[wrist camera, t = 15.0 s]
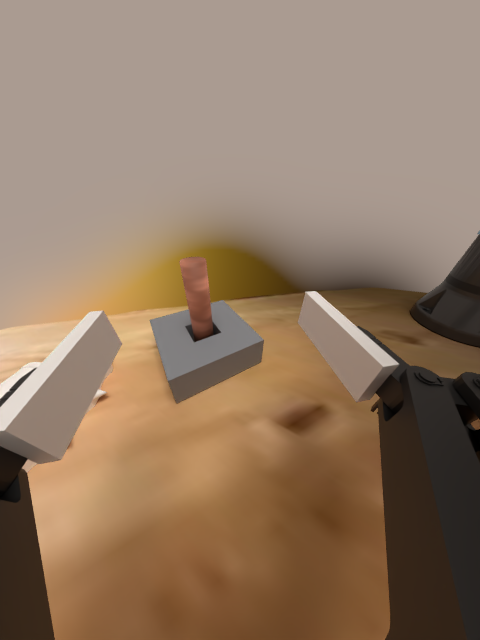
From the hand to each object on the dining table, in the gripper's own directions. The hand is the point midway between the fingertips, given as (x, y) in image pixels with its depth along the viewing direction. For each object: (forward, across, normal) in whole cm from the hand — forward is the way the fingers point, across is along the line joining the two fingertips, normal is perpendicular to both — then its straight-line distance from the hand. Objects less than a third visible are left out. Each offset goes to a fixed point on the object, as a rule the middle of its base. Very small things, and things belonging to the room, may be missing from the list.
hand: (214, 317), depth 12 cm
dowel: (+12, -2, -16) cm, 20 cm away
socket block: (+12, -2, -16) cm, 20 cm away
